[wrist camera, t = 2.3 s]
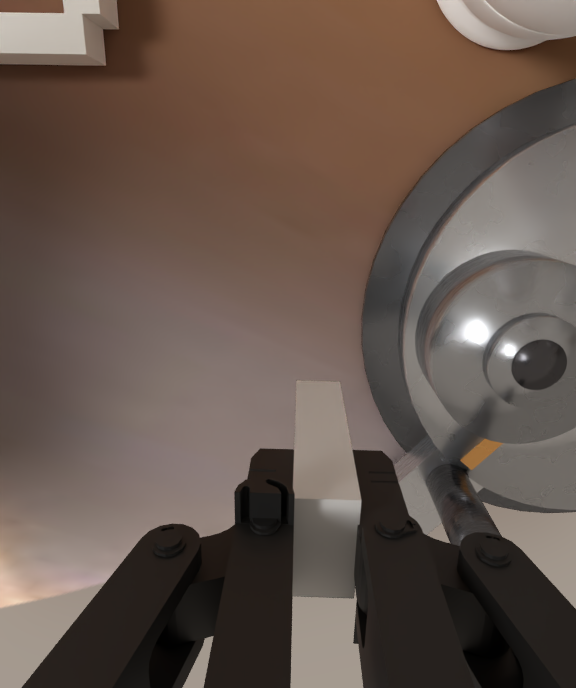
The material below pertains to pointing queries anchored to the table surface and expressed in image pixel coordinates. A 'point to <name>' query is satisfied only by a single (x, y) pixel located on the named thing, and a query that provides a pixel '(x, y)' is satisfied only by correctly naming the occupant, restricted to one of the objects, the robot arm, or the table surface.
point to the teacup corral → (58, 34)
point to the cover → (503, 345)
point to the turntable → (443, 431)
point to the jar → (511, 21)
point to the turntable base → (413, 229)
